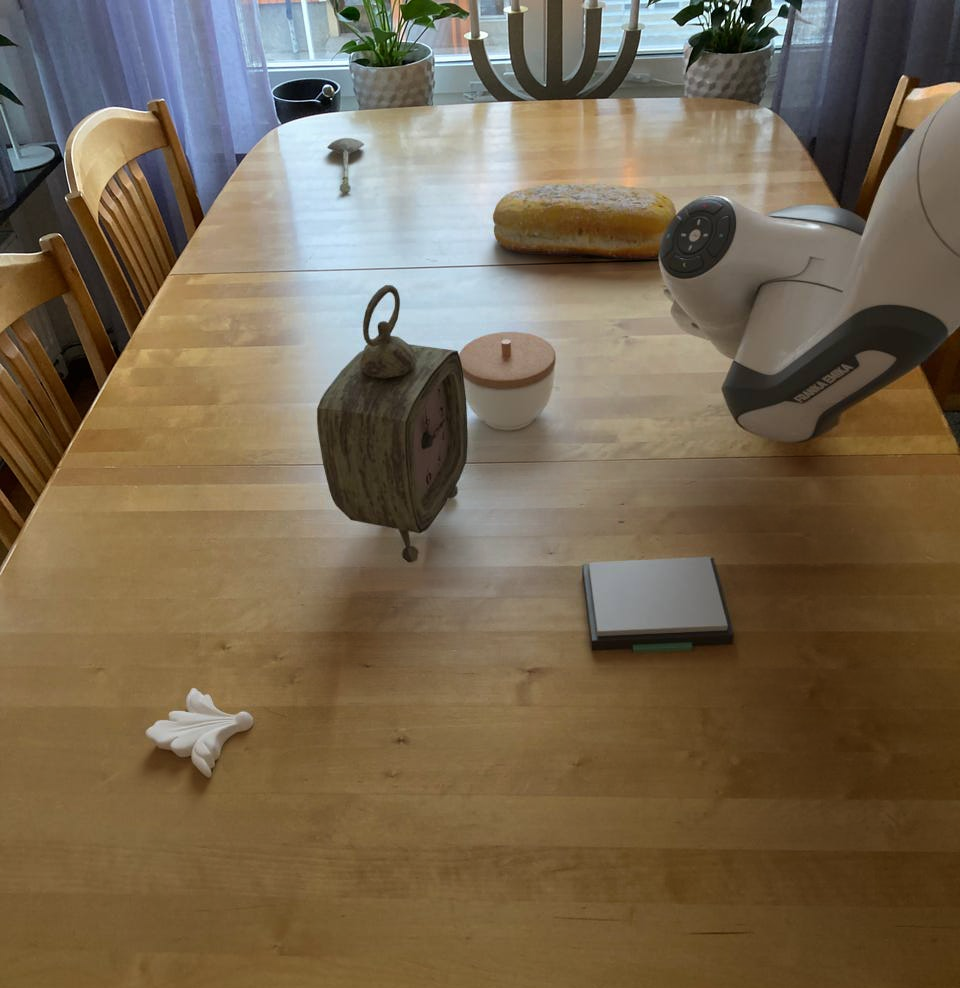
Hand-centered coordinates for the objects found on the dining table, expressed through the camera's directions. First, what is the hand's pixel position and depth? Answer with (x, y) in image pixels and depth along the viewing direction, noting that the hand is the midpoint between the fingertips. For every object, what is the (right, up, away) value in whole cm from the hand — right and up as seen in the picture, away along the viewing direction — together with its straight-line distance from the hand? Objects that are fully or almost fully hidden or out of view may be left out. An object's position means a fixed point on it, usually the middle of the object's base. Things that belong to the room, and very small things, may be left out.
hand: (784, 360), depth 107 cm
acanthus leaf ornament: (-56, -38, -23) cm, 71 cm away
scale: (-17, -28, -16) cm, 37 cm away
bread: (-18, +28, +39) cm, 51 cm away
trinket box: (-29, -4, +9) cm, 31 cm away
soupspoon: (-56, +51, +66) cm, 101 cm away
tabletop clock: (-40, -18, -4) cm, 44 cm away
